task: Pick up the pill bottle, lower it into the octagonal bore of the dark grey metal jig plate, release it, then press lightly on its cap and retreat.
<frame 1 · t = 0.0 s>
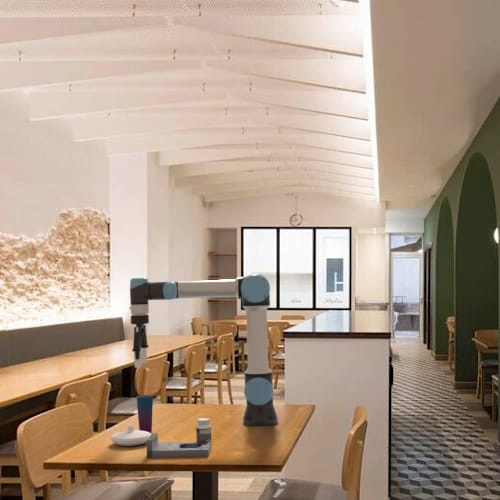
hand: (141, 365, 303), 28 cm above the table, fingers open, 13 cm apart
cup: (145, 432, 302), on the table
pill bottle: (204, 446, 274), on the table
lid: (131, 444, 281), on the table
jig: (179, 452, 263), on the table
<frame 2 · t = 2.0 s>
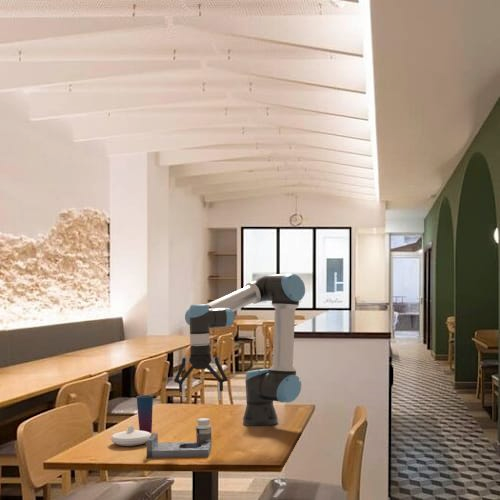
hand: (201, 400, 275), 17 cm above the table, fingers open, 13 cm apart
nothing on the table moved.
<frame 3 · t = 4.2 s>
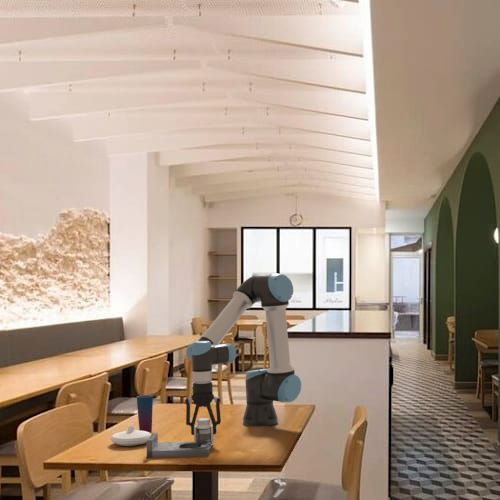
hand: (204, 443, 274), 1 cm above the table, fingers closed on pill bottle, 6 cm apart
pill bottle: (204, 446, 274), on the table, touching gripper
everything else where it was.
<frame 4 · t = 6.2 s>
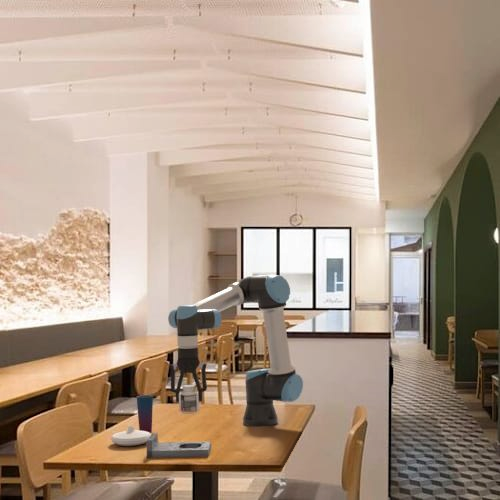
hand: (189, 410, 264), 15 cm above the table, fingers closed on pill bottle, 6 cm apart
pill bottle: (189, 413, 264), point 14 cm above the table, touching gripper
everything else where it was.
when the fingers open (3 cm above the table, at t = 8.3 s): pill bottle drops 2 cm, resting in jig.
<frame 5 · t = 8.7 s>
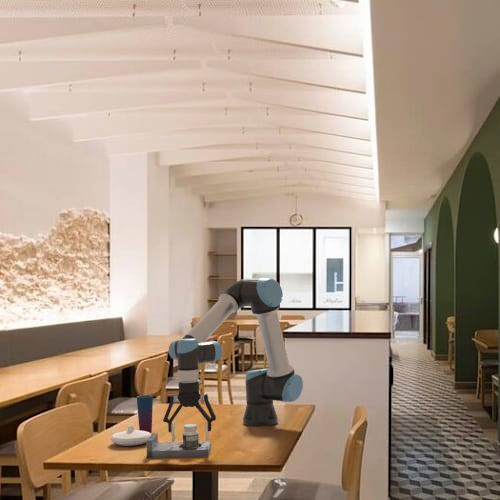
hand: (190, 440, 264), 4 cm above the table, fingers open, 12 cm apart
pill bottle: (191, 453, 263), resting in jig
everything else where it was.
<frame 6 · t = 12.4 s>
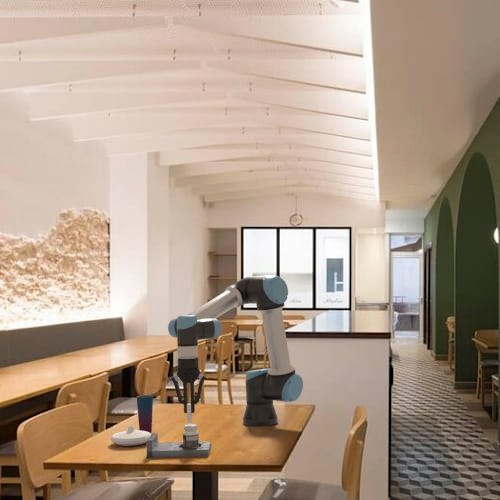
hand: (189, 422, 264), 11 cm above the table, fingers closed
nothing on the table moved.
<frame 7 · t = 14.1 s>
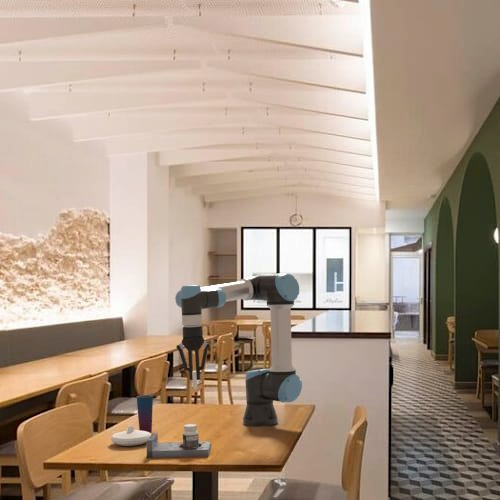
hand: (195, 388, 272), 22 cm above the table, fingers closed
nothing on the table moved.
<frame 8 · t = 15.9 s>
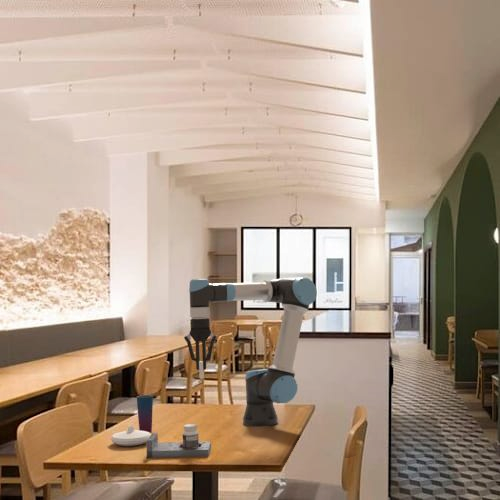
hand: (201, 378, 283), 24 cm above the table, fingers closed
nothing on the table moved.
at the end: pill bottle 0.2 cm from the target spot on the jig, point 0.0 cm above the jig's base; pill bottle tilted 0°; the gripper is holding nothing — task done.
